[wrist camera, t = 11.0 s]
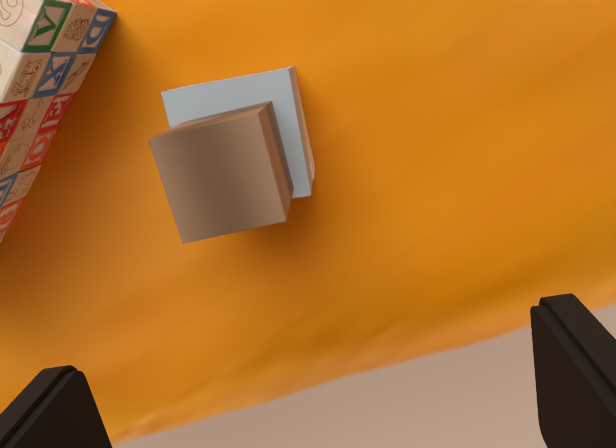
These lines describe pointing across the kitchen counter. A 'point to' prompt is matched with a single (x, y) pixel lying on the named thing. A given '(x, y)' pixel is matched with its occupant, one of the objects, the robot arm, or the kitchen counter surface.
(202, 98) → the tower top
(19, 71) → the stack of blocks
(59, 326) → the kitchen counter surface
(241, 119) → the walnut block
